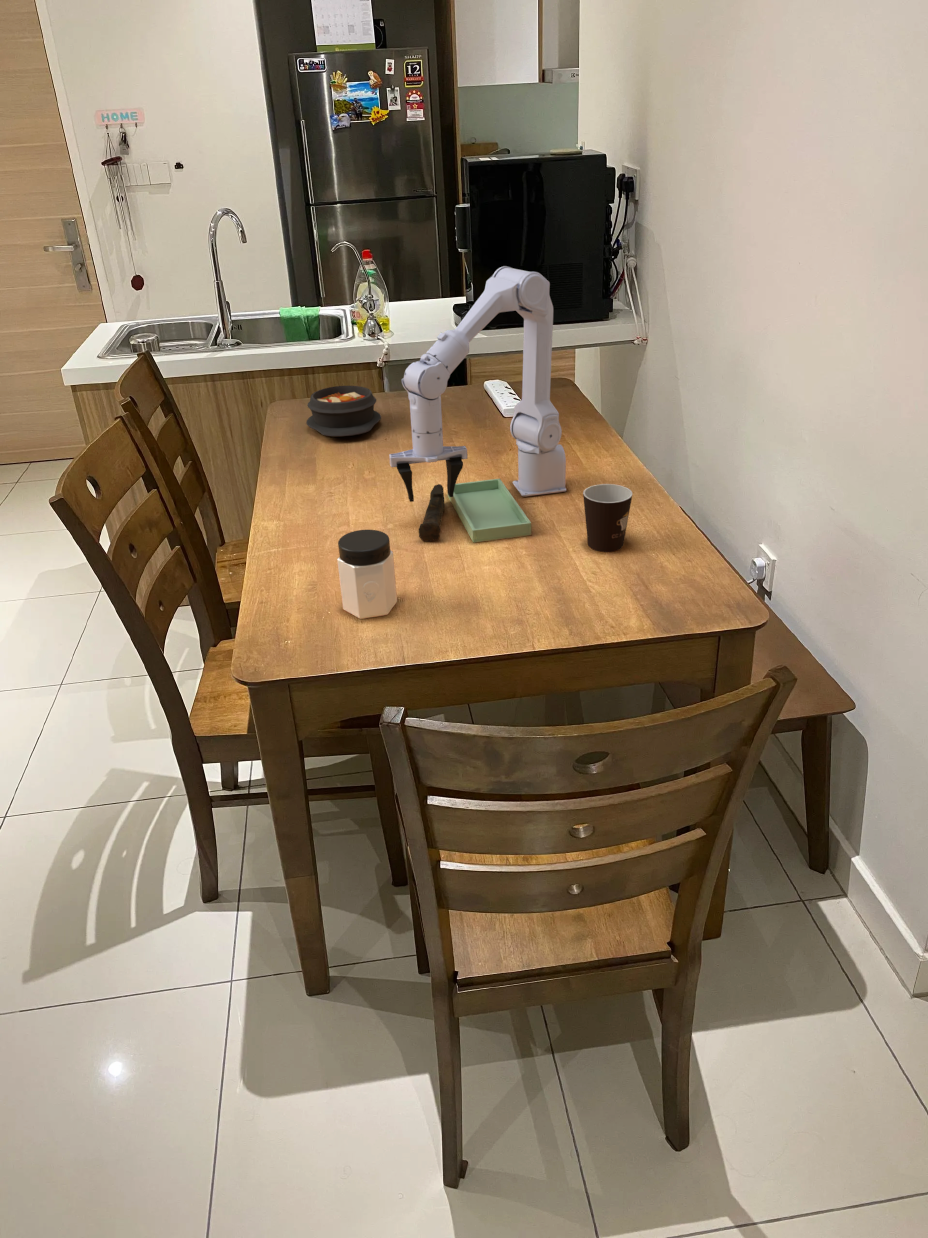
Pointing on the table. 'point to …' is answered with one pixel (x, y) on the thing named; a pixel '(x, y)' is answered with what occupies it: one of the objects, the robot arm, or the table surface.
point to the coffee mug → (606, 516)
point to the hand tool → (433, 515)
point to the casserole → (342, 411)
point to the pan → (489, 511)
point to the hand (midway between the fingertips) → (430, 497)
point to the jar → (366, 573)
